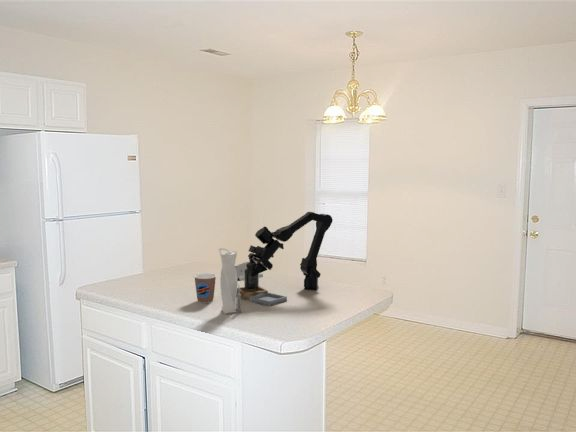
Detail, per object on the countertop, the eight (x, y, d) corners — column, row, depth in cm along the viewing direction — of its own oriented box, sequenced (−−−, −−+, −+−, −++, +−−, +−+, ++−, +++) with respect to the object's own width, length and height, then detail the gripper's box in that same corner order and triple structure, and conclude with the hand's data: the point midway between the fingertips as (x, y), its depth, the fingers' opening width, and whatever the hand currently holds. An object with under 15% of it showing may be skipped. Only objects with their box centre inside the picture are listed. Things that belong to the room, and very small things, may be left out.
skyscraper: (222, 315, 214) (222, 250, 211) (217, 310, 221) (216, 247, 219) (241, 313, 217) (241, 248, 215) (236, 308, 225) (235, 246, 222)
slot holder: (258, 291, 255) (258, 285, 255) (267, 296, 245) (267, 290, 244) (235, 293, 250) (235, 287, 250) (244, 299, 239) (244, 293, 239)
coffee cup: (190, 303, 232) (190, 277, 231) (198, 297, 242) (198, 273, 241) (212, 304, 230) (212, 278, 229) (219, 298, 240) (219, 273, 239)
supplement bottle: (245, 285, 251) (245, 261, 249) (259, 286, 250) (259, 262, 249) (243, 289, 244) (243, 264, 242) (257, 289, 244) (257, 264, 242)
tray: (267, 296, 245) (267, 292, 245) (286, 300, 238) (286, 296, 237) (249, 301, 236) (249, 297, 236) (269, 306, 228) (269, 301, 228)
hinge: (239, 280, 279) (236, 262, 281) (235, 282, 282) (231, 264, 284) (263, 276, 290) (260, 259, 291) (259, 278, 293) (255, 261, 295)
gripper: (251, 236, 255) (230, 260, 251) (266, 241, 238) (244, 267, 234) (265, 251, 259) (246, 274, 255) (281, 257, 242) (260, 282, 239)
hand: (248, 274), depth 246 cm, fingers closed on supplement bottle, 7 cm apart
